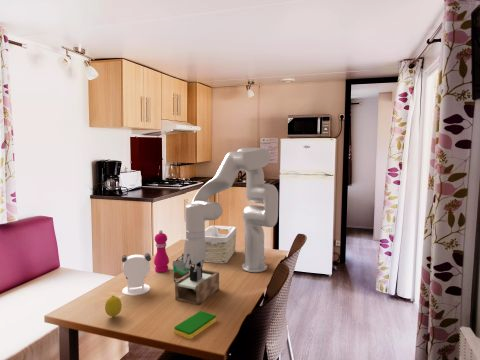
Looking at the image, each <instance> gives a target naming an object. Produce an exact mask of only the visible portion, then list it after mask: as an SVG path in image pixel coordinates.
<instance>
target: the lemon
mask: <svg viewBox="0 0 480 360" xmlns="http://www.w3.org/2000/svg"><path fill="white" fill-rule="evenodd" d="M122 305H123V304H122V300H121V299H120V298H119V296H116V295H111V296H109V297H108V298H107V299H106V301H105V304H104V309H105V312H106V315H108V316H109V317H112V318H116V316H118V315H119V314H120V313H121V311H122Z"/></svg>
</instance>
